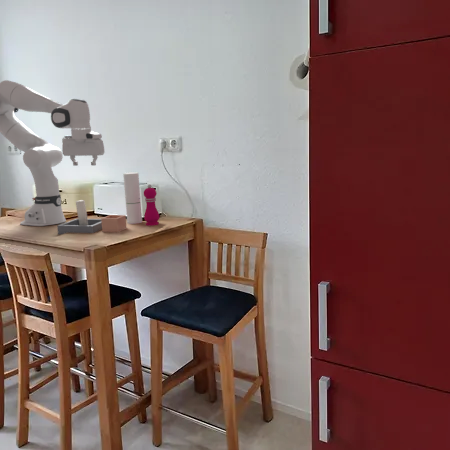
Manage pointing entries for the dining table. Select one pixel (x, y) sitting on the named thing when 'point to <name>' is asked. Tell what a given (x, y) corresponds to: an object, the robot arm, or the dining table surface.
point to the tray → (80, 226)
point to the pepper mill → (151, 207)
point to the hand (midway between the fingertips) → (84, 165)
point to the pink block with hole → (113, 223)
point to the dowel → (82, 212)
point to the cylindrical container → (132, 197)
